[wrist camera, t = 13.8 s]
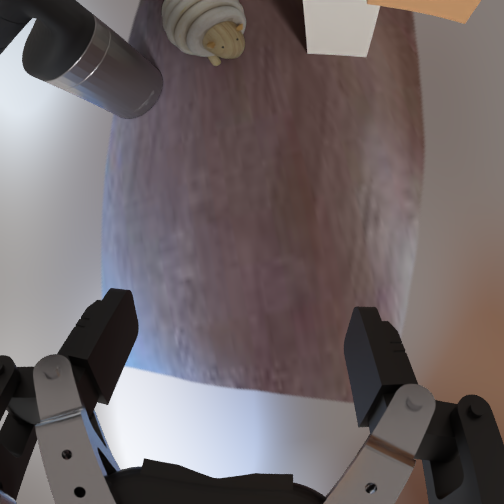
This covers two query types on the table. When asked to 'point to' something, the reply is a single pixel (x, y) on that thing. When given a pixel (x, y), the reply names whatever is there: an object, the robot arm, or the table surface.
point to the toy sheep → (205, 27)
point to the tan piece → (434, 7)
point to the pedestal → (339, 26)
